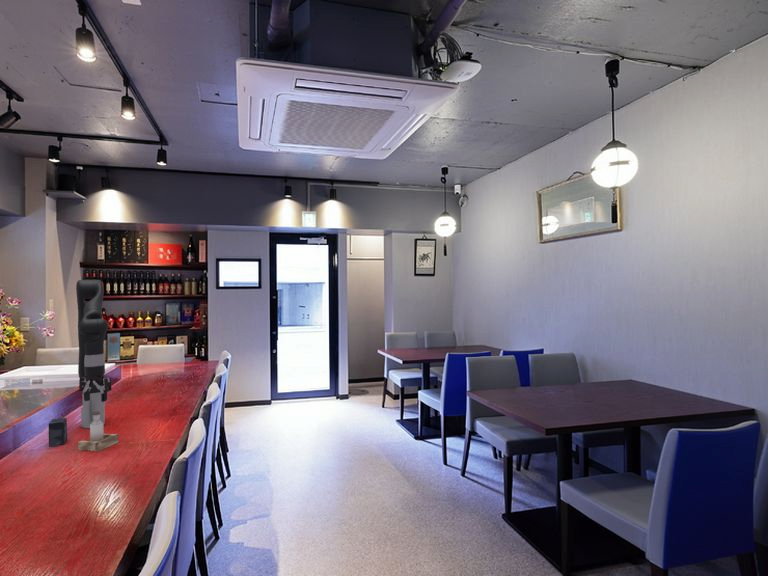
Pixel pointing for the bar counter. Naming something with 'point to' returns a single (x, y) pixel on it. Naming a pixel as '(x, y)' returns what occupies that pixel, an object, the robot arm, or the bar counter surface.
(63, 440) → the box
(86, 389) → the robot arm
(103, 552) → the bar counter surface
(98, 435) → the bottle
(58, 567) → the bar counter surface
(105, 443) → the rest
